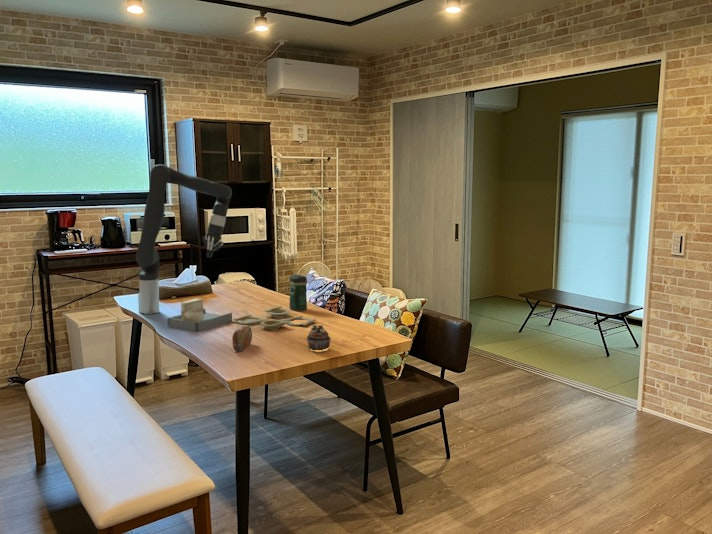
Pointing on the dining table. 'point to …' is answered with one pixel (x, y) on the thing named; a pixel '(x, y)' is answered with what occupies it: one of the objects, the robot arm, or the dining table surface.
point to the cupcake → (318, 338)
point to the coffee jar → (298, 292)
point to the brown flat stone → (242, 338)
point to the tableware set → (272, 323)
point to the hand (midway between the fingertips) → (208, 257)
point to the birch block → (192, 310)
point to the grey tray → (207, 322)
